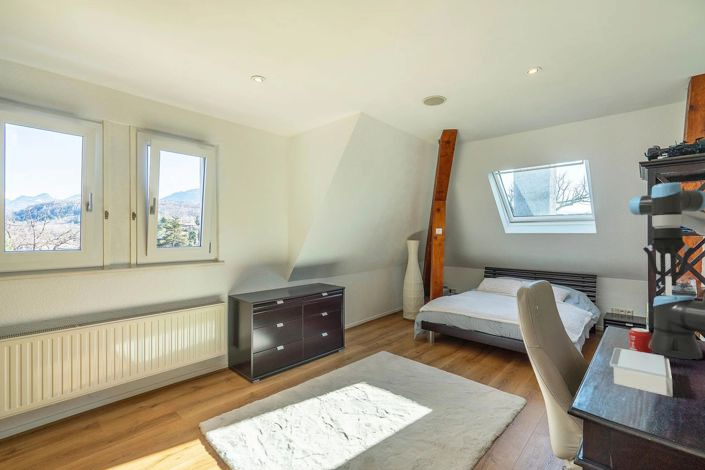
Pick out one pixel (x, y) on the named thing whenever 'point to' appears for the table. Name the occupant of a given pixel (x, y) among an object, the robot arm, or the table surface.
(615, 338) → the table surface
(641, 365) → the lid
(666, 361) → the white flat pieces
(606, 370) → the table surface
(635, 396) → the table surface
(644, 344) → the beverage can
